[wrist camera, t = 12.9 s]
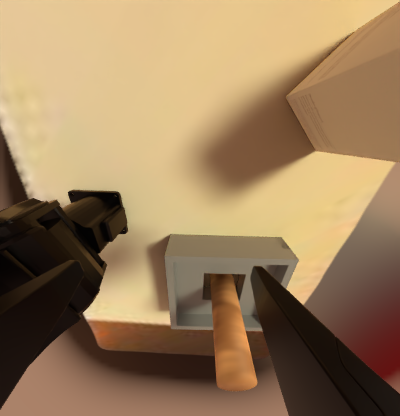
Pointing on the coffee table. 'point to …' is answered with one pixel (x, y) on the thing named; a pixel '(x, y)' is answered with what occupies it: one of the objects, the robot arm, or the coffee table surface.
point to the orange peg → (230, 337)
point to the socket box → (220, 264)
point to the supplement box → (356, 94)
